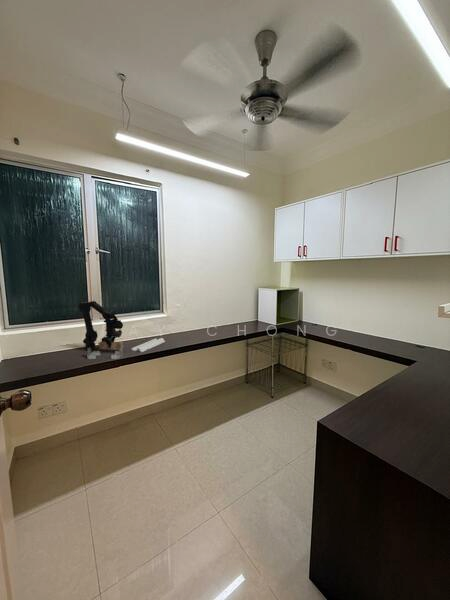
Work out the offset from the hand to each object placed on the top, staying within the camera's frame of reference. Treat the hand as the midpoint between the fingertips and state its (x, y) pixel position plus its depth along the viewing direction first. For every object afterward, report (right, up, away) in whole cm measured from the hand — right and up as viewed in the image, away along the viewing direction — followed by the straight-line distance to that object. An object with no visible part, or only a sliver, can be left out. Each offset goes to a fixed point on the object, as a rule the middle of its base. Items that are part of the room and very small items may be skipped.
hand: (111, 346), depth 198 cm
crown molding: (+25, -3, +18) cm, 31 cm away
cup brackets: (0, -6, -9) cm, 11 cm away
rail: (0, -1, 0) cm, 1 cm away
